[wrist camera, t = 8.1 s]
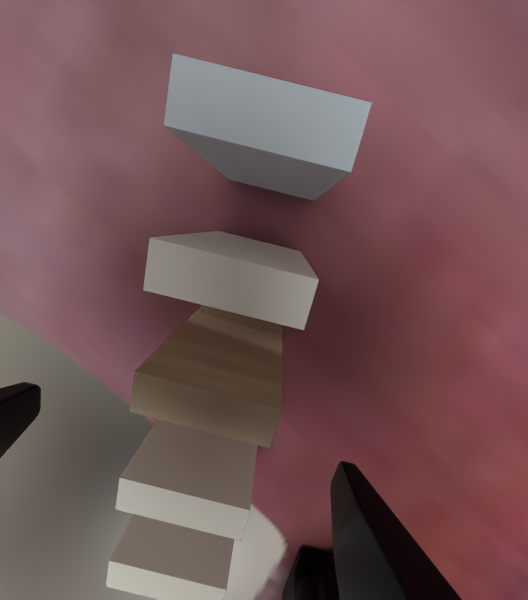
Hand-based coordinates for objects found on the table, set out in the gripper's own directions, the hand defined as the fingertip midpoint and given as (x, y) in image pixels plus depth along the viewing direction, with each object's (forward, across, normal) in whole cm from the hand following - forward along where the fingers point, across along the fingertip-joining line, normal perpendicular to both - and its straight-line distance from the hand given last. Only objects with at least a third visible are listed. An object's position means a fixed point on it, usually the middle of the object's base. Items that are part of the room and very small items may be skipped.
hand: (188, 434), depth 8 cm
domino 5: (+10, 0, +9) cm, 14 cm away
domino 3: (+10, 0, 0) cm, 10 cm away
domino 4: (+10, 0, +5) cm, 11 cm away
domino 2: (+10, 0, -4) cm, 11 cm away
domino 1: (+10, 0, -9) cm, 14 cm away
